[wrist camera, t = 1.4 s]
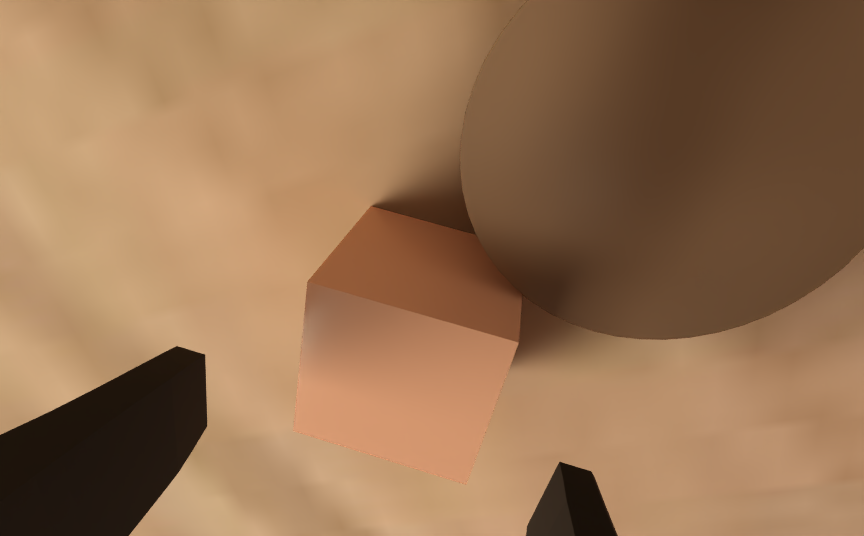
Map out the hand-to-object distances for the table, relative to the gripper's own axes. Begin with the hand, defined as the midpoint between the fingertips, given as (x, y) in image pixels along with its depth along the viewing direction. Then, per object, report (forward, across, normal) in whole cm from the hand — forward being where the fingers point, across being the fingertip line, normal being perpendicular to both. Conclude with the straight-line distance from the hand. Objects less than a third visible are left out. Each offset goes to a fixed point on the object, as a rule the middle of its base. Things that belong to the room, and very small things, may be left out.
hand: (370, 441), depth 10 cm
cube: (+6, 0, 0) cm, 6 cm away
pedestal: (+6, -4, -6) cm, 9 cm away
